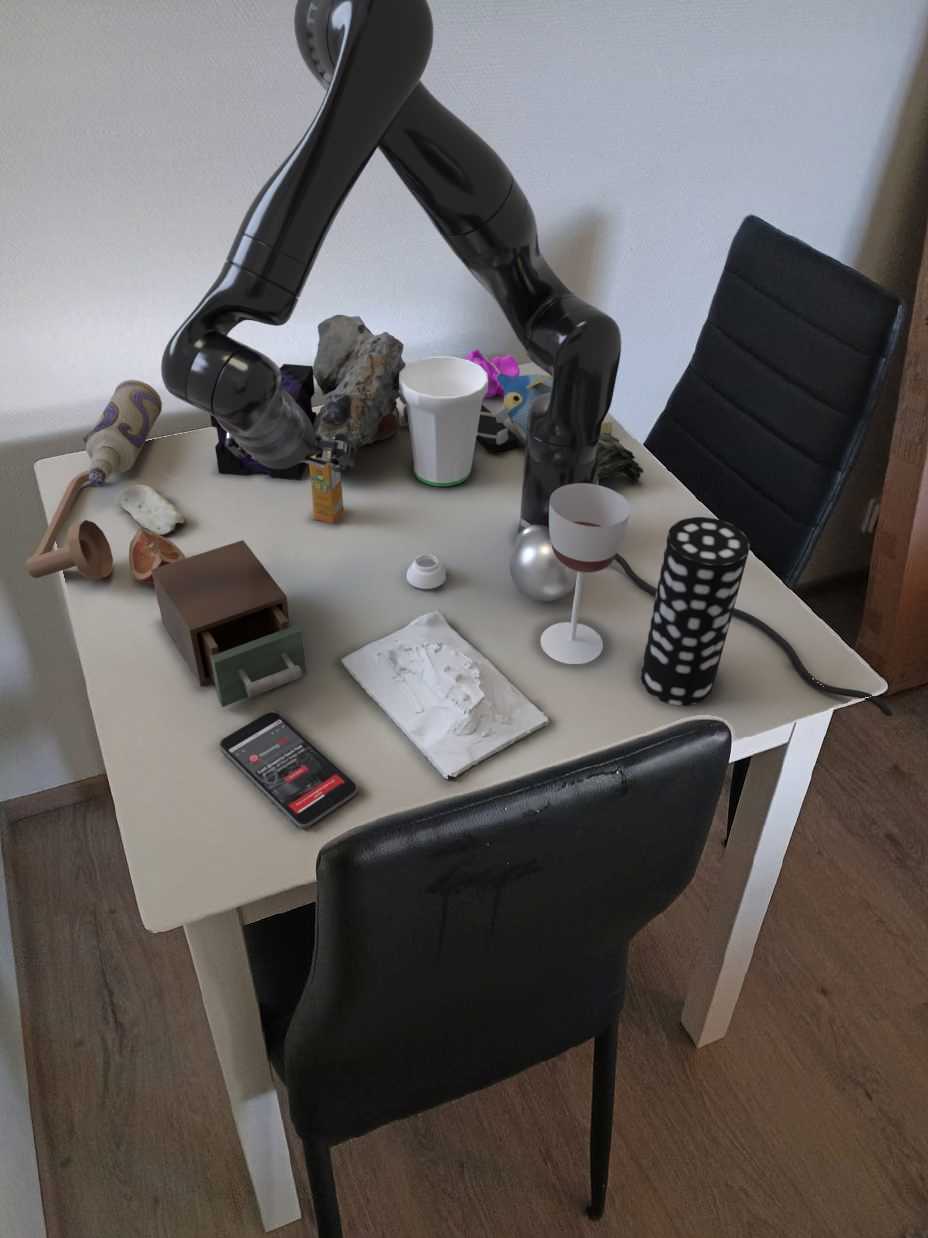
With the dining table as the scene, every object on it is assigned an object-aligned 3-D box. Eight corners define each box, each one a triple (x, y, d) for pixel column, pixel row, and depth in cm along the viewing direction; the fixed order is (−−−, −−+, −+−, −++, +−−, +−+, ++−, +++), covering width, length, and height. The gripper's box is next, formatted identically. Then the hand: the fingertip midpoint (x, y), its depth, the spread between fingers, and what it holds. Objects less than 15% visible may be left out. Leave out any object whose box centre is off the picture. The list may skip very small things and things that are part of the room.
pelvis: (531, 361, 167) (520, 400, 170) (482, 343, 170) (472, 381, 173) (497, 367, 157) (486, 408, 160) (446, 347, 160) (437, 387, 163)
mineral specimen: (654, 497, 145) (614, 509, 154) (646, 410, 146) (606, 426, 155) (567, 499, 139) (530, 511, 148) (559, 407, 139) (522, 424, 148)
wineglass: (589, 675, 117) (610, 536, 104) (523, 647, 120) (536, 508, 107) (618, 637, 122) (642, 499, 109) (555, 611, 125) (570, 475, 112)
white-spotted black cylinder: (712, 711, 113) (750, 570, 100) (637, 699, 114) (665, 558, 101) (713, 661, 119) (749, 523, 106) (642, 650, 120) (669, 512, 107)
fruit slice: (123, 563, 130) (115, 532, 127) (174, 548, 133) (167, 517, 129) (144, 600, 125) (136, 568, 121) (196, 583, 127) (190, 551, 124)
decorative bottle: (108, 405, 157) (122, 369, 153) (155, 426, 159) (169, 392, 156) (56, 486, 136) (71, 447, 133) (111, 510, 138) (127, 472, 135)
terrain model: (428, 618, 125) (427, 585, 122) (566, 712, 112) (569, 678, 109) (321, 680, 116) (317, 646, 113) (457, 789, 103) (457, 754, 100)
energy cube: (318, 437, 155) (312, 365, 147) (299, 479, 146) (293, 405, 138) (241, 431, 156) (232, 359, 148) (218, 472, 147) (207, 398, 139)
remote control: (519, 449, 155) (473, 402, 164) (520, 439, 153) (473, 392, 163) (491, 456, 153) (446, 408, 162) (491, 446, 152) (446, 398, 161)
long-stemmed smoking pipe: (89, 498, 146) (60, 456, 141) (145, 481, 145) (118, 437, 140) (41, 608, 127) (6, 563, 122) (105, 588, 125) (72, 542, 120)
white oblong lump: (112, 500, 140) (122, 473, 139) (141, 504, 144) (151, 478, 143) (158, 542, 134) (169, 515, 133) (187, 545, 138) (198, 518, 137)
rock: (397, 452, 133) (304, 381, 127) (327, 499, 150) (242, 438, 144) (464, 320, 144) (382, 249, 139) (392, 377, 161) (316, 316, 155)
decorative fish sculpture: (513, 330, 150) (496, 411, 143) (634, 372, 153) (622, 454, 147) (489, 378, 161) (471, 455, 154) (602, 417, 164) (589, 494, 158)
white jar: (453, 579, 129) (427, 562, 132) (454, 561, 128) (427, 544, 130) (425, 596, 127) (398, 578, 129) (425, 578, 125) (398, 560, 127)
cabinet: (293, 651, 119) (286, 596, 113) (200, 686, 114) (189, 630, 108) (251, 593, 126) (243, 539, 121) (162, 624, 122) (150, 569, 116)
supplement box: (312, 520, 139) (306, 457, 132) (323, 507, 141) (319, 445, 134) (333, 526, 138) (329, 463, 131) (345, 513, 140) (341, 450, 134)
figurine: (516, 394, 151) (413, 379, 158) (497, 407, 146) (392, 391, 154) (516, 441, 154) (416, 424, 162) (498, 455, 150) (395, 437, 157)
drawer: (322, 695, 112) (318, 651, 108) (236, 730, 108) (228, 685, 103) (266, 617, 122) (260, 574, 117) (185, 647, 117) (175, 602, 113)
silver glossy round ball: (610, 562, 124) (561, 499, 126) (564, 587, 118) (513, 520, 120) (570, 599, 131) (525, 539, 133) (524, 625, 125) (477, 561, 126)
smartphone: (302, 827, 98) (216, 742, 106) (302, 831, 99) (217, 747, 107) (360, 787, 102) (273, 708, 110) (360, 792, 103) (274, 713, 111)
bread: (334, 407, 162) (332, 379, 159) (404, 413, 161) (403, 385, 158) (318, 443, 154) (315, 415, 151) (391, 450, 153) (390, 421, 150)
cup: (500, 465, 150) (505, 371, 140) (454, 504, 142) (457, 407, 132) (430, 440, 155) (431, 347, 145) (383, 476, 147) (380, 381, 137)
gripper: (339, 396, 107) (365, 436, 123) (209, 385, 108) (252, 425, 124) (331, 466, 107) (358, 496, 123) (200, 453, 108) (244, 485, 124)
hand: (305, 461), depth 123 cm, fingers open, 8 cm apart
